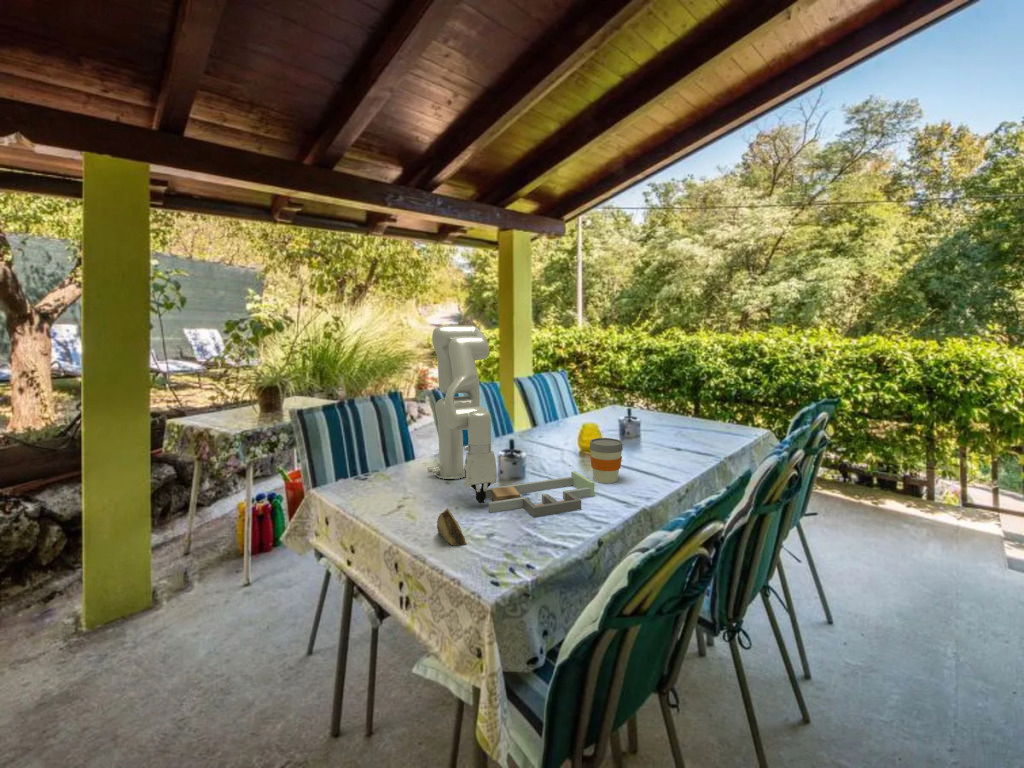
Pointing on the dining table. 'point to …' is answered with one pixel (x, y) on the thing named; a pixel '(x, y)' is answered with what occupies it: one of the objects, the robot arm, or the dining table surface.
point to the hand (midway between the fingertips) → (480, 501)
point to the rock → (450, 528)
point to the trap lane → (546, 496)
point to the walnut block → (504, 493)
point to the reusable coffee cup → (606, 459)
